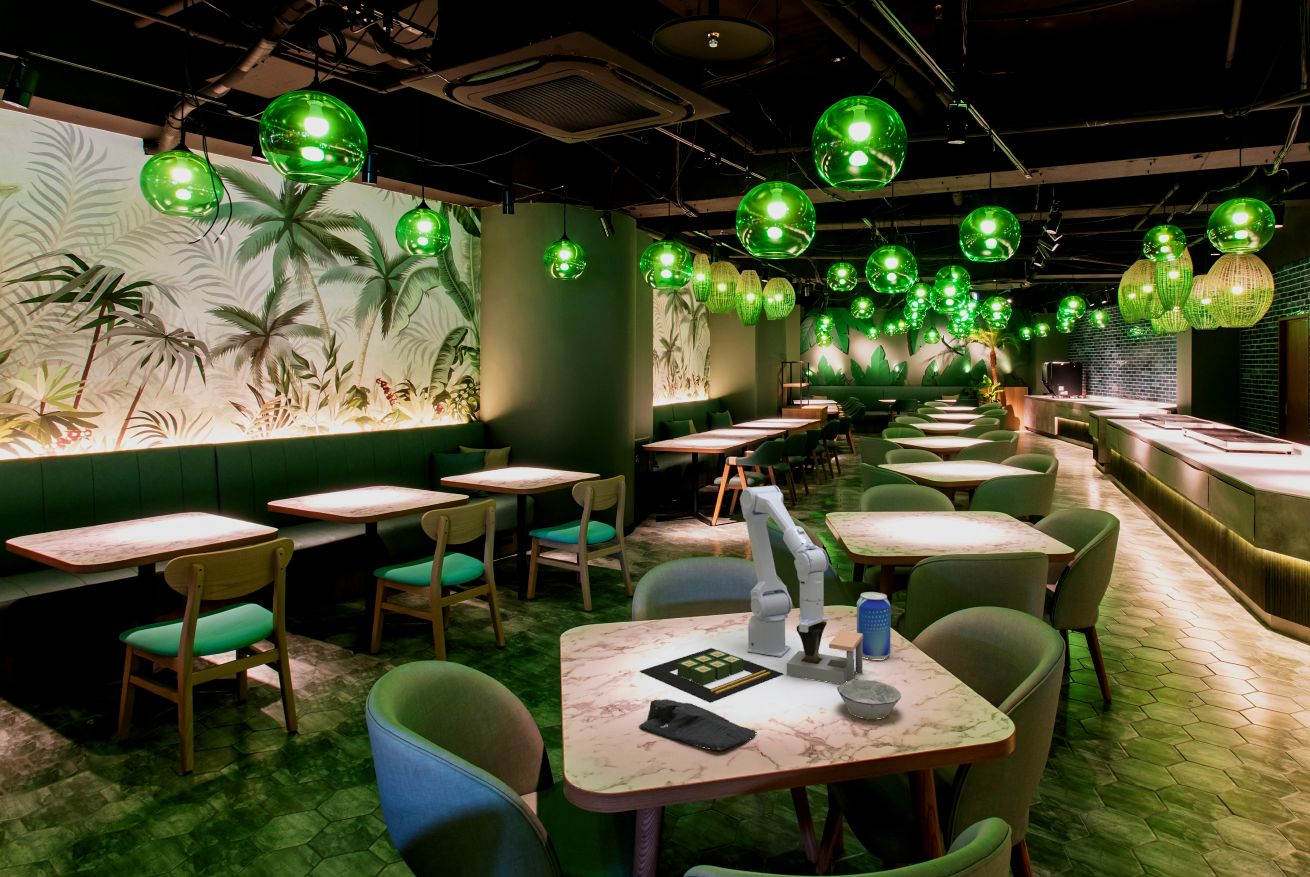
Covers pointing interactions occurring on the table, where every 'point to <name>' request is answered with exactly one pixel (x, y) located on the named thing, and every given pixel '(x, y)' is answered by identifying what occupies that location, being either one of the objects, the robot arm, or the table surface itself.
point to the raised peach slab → (849, 650)
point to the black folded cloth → (694, 725)
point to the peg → (814, 658)
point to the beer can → (874, 624)
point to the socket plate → (818, 668)
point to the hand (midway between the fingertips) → (811, 652)
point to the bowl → (869, 698)
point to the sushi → (710, 674)
